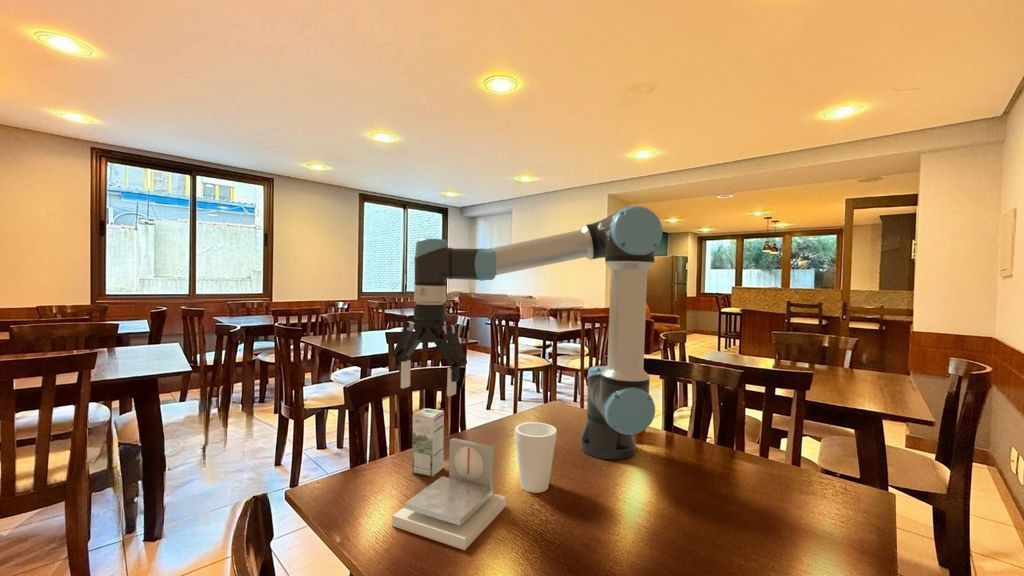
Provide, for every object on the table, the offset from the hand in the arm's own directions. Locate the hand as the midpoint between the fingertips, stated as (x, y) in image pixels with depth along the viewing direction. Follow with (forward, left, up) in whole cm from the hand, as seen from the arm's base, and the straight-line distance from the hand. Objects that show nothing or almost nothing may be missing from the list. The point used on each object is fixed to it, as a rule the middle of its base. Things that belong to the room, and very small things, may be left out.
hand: (427, 391), depth 104 cm
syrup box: (0, 0, -20) cm, 20 cm away
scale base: (-16, +14, -20) cm, 29 cm away
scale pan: (-16, +14, -16) cm, 27 cm away
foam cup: (-26, -5, -20) cm, 33 cm away
